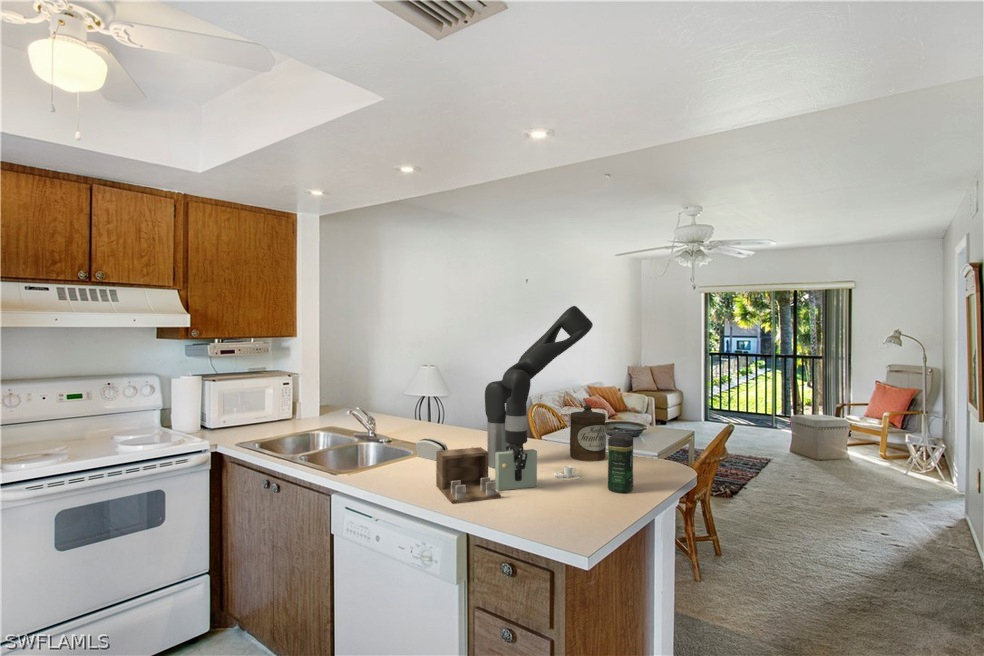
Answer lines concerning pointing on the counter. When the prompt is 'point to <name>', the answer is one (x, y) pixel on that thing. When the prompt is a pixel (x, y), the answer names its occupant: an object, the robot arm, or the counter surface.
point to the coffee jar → (620, 462)
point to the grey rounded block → (429, 448)
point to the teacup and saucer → (567, 473)
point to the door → (507, 470)
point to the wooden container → (587, 435)
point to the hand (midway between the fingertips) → (516, 479)
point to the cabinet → (464, 475)
